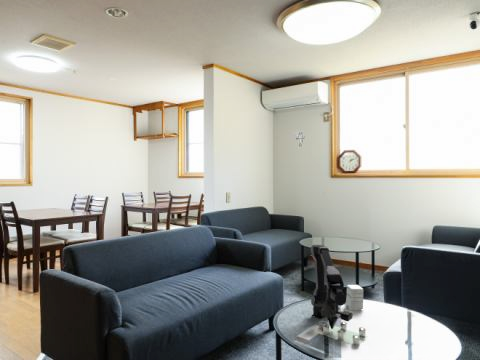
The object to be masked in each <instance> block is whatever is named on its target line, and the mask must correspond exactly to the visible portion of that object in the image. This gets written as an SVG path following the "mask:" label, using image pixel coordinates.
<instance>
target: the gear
mask: <svg viewBox="0 0 480 360" xmlns="http://www.w3.org/2000/svg"><path fill="white" fill-rule="evenodd" d="M325 325H326V326H330V324H329V321H328V320H320V321H318V328H319V329H320V330H321V331H323V326H325Z"/></svg>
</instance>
